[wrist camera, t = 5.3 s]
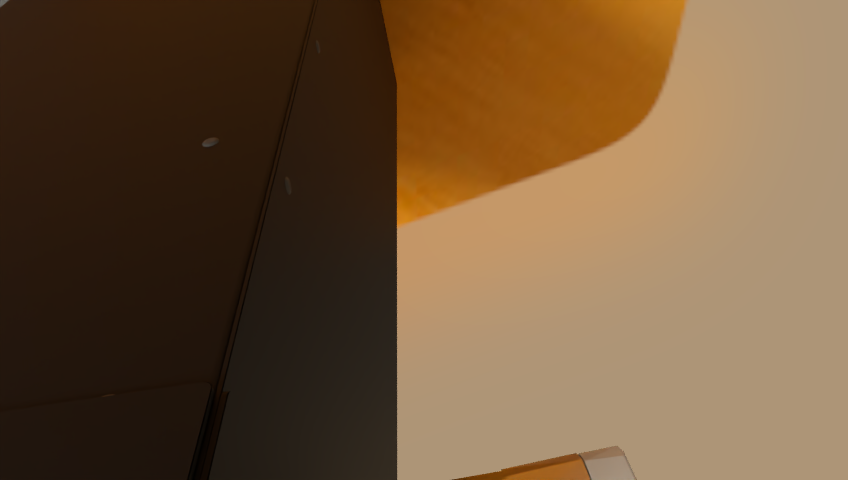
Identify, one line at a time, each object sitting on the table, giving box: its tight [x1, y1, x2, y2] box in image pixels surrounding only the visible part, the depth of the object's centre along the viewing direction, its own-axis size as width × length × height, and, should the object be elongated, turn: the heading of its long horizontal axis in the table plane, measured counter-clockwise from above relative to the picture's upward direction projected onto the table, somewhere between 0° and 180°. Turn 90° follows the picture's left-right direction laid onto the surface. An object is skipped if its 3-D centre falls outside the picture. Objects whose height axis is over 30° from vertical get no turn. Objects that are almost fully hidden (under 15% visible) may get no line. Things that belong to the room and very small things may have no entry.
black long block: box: [0, 0, 397, 480], centre depth 16 cm, size 8×8×28 cm
